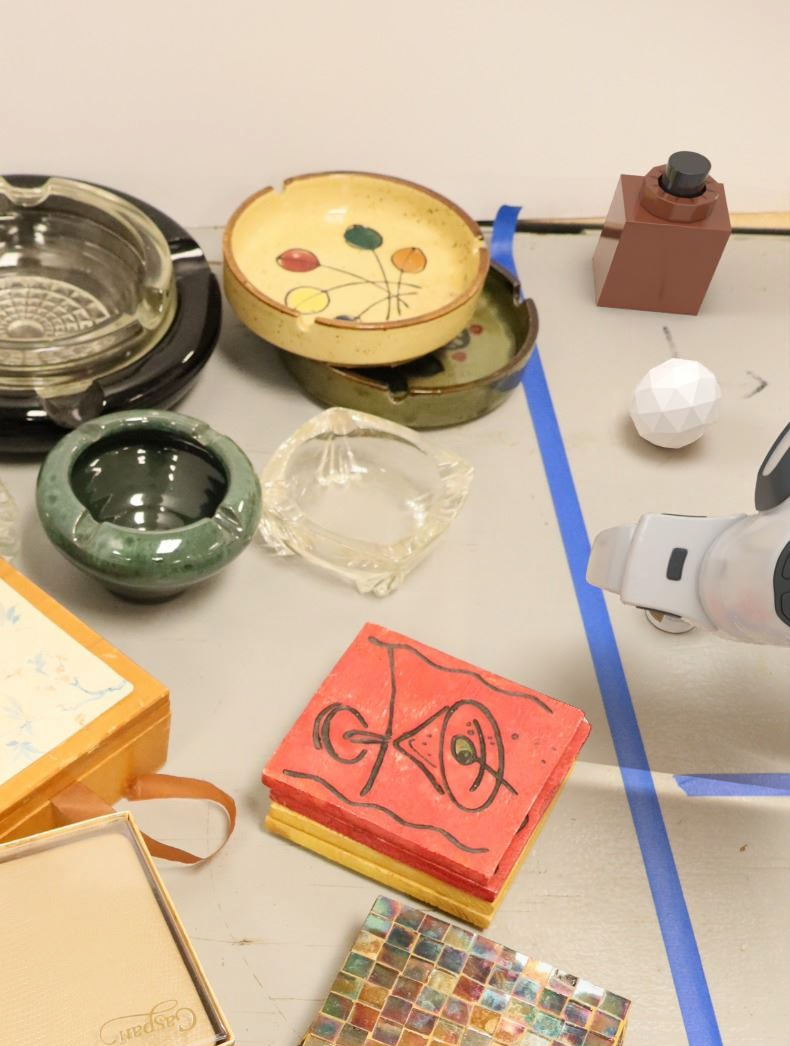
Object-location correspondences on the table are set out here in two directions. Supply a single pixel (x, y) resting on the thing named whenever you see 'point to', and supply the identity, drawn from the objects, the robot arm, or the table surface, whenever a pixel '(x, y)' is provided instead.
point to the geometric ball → (675, 403)
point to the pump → (685, 174)
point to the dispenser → (660, 246)
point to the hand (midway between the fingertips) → (705, 581)
